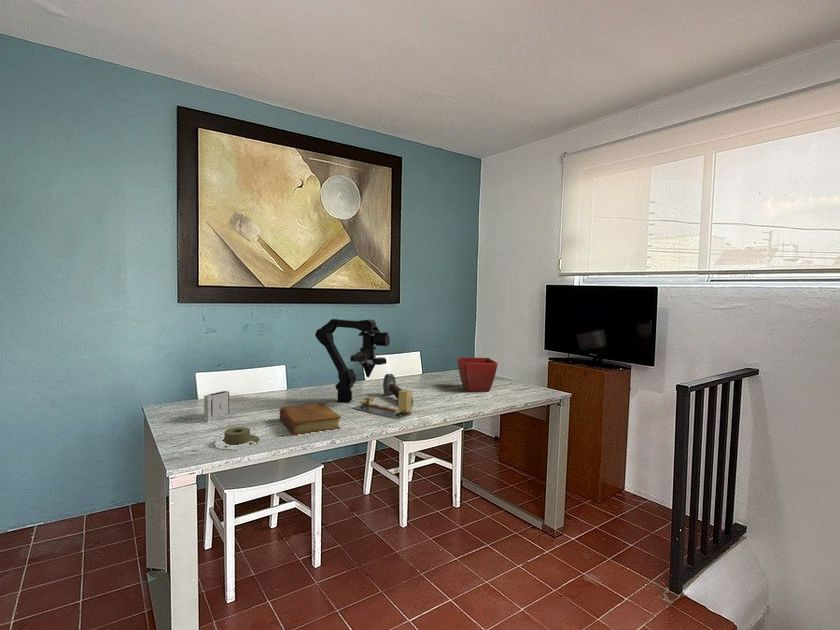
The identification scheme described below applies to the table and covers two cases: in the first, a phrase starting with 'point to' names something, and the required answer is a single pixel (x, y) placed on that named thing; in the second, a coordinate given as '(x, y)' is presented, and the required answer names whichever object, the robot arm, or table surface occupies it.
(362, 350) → the robot arm
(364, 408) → the bolt strip
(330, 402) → the table surface
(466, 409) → the table surface
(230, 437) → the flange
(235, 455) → the table surface
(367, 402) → the trammel bar
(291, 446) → the table surface
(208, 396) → the grey rectangular block
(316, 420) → the diary
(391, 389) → the hammer
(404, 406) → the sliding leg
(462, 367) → the plant pot
